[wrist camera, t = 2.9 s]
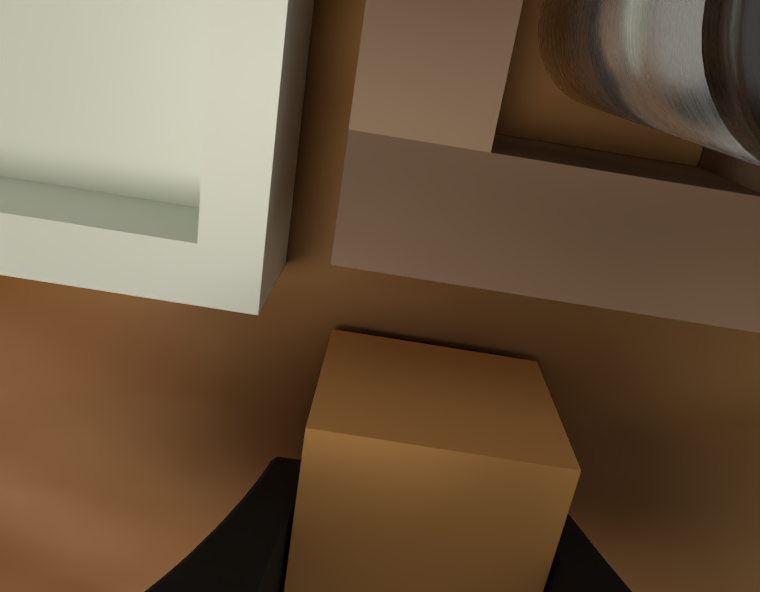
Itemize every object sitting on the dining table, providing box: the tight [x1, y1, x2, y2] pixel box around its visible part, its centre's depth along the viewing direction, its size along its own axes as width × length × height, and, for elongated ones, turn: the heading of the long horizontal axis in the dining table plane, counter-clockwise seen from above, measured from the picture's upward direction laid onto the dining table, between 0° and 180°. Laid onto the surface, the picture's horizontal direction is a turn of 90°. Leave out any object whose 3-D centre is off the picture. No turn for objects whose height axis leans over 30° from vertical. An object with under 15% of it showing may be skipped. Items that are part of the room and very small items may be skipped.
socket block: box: [330, 0, 760, 333], centre depth 10 cm, size 8×8×2 cm
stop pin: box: [538, 0, 760, 166], centre depth 7 cm, size 3×3×7 cm
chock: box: [284, 329, 581, 592], centre depth 12 cm, size 6×4×4 cm, turn 171°
